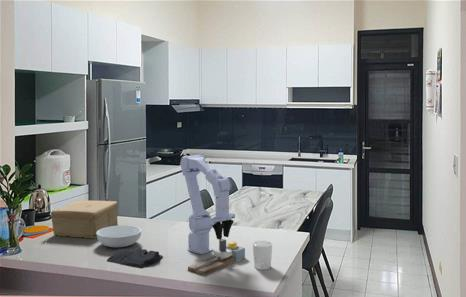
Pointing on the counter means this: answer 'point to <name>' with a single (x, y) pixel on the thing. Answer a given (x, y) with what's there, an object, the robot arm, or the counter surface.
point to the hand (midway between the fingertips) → (222, 237)
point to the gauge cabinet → (237, 253)
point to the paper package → (84, 218)
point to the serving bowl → (118, 235)
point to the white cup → (262, 254)
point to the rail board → (210, 265)
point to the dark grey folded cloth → (135, 257)
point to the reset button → (232, 245)
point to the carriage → (222, 250)
